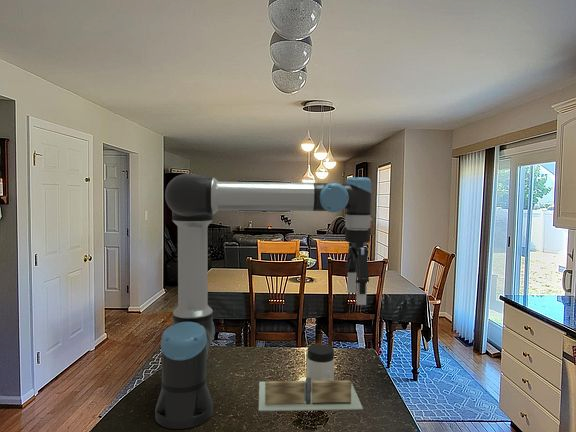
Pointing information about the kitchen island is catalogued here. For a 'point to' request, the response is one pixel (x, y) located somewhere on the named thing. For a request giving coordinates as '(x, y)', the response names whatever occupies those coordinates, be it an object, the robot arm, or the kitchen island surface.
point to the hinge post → (308, 390)
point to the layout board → (312, 406)
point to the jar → (320, 363)
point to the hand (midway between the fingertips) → (356, 298)
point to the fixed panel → (331, 391)
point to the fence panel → (284, 391)
